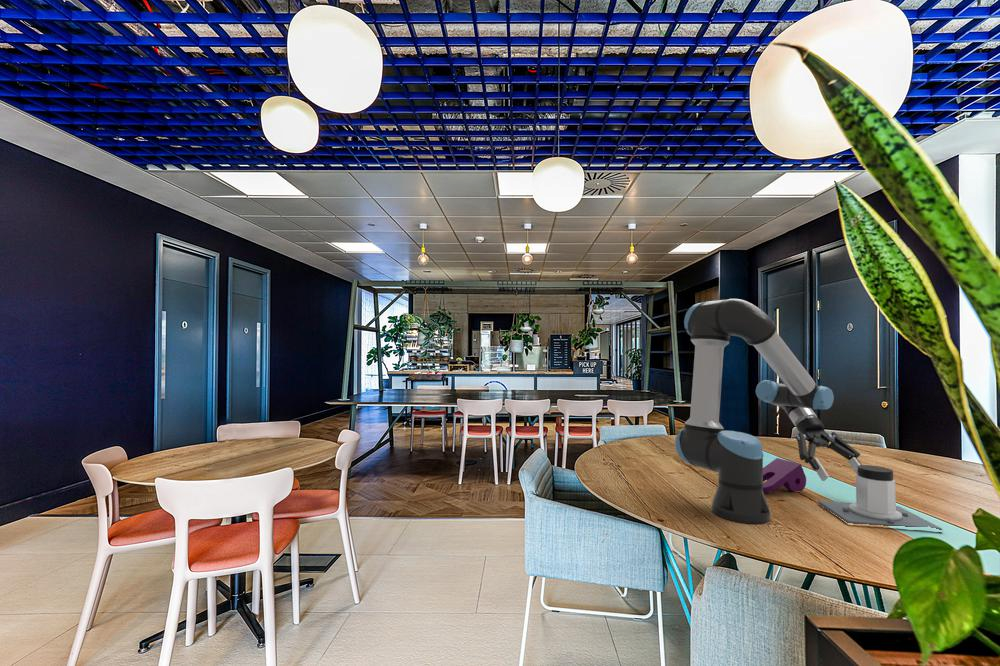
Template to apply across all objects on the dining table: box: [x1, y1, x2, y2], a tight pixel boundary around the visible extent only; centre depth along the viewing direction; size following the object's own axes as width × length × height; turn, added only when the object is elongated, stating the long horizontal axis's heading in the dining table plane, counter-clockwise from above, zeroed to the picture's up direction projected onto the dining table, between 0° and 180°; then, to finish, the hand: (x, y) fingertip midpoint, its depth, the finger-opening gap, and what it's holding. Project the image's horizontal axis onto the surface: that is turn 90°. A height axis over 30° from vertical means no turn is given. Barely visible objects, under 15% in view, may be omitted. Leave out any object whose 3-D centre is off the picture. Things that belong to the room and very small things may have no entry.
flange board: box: [817, 500, 943, 531], centre depth 133 cm, size 22×18×2 cm
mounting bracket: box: [763, 457, 807, 494], centre depth 160 cm, size 9×8×18 cm
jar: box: [855, 464, 897, 515], centre depth 133 cm, size 9×8×12 cm
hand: (845, 478), depth 143 cm, fingers open, 13 cm apart
